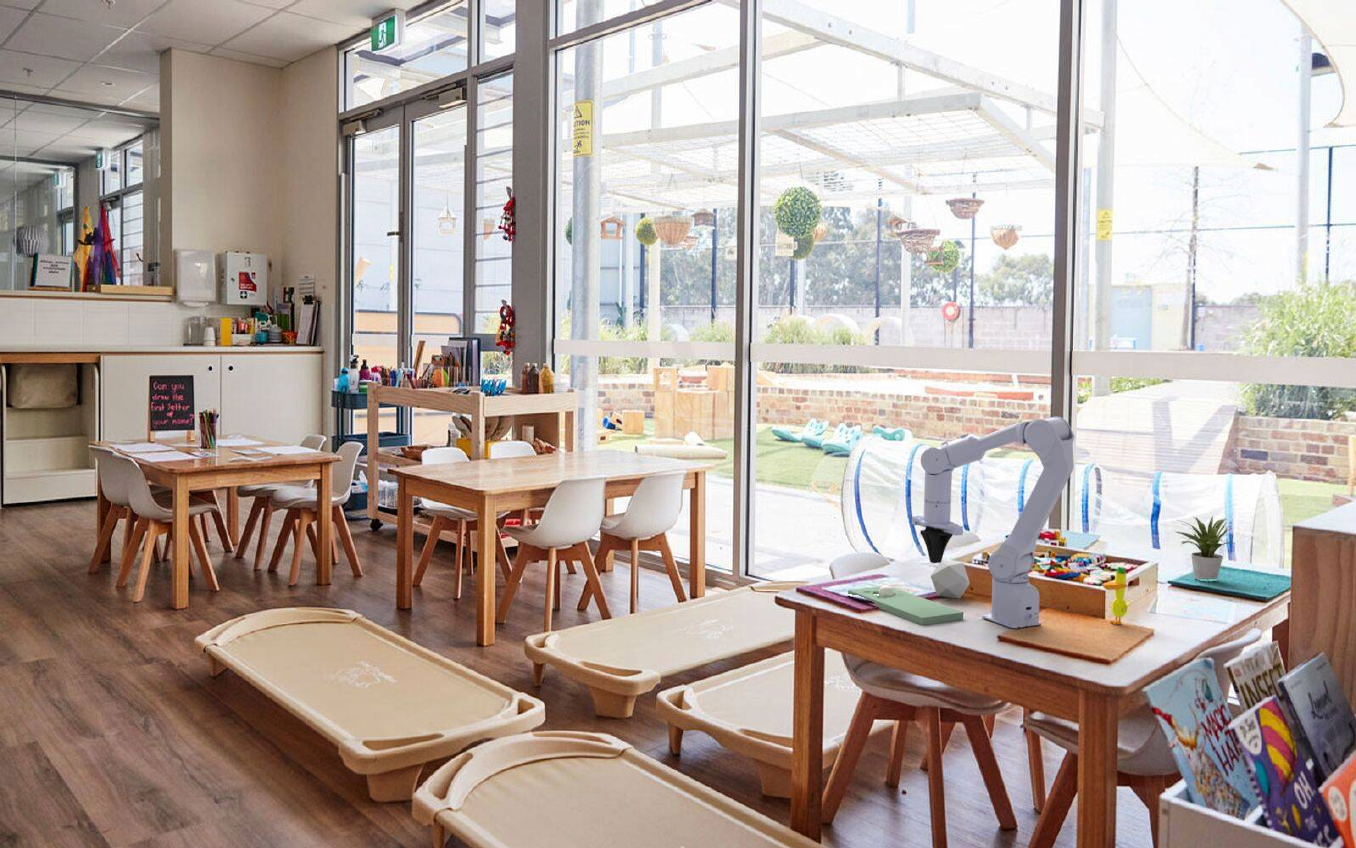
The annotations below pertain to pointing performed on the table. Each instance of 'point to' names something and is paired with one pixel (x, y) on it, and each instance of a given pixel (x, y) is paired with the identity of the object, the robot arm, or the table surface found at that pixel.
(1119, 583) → the toy figure
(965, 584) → the die
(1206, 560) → the house plant
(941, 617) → the green
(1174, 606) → the table surface
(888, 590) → the ball
